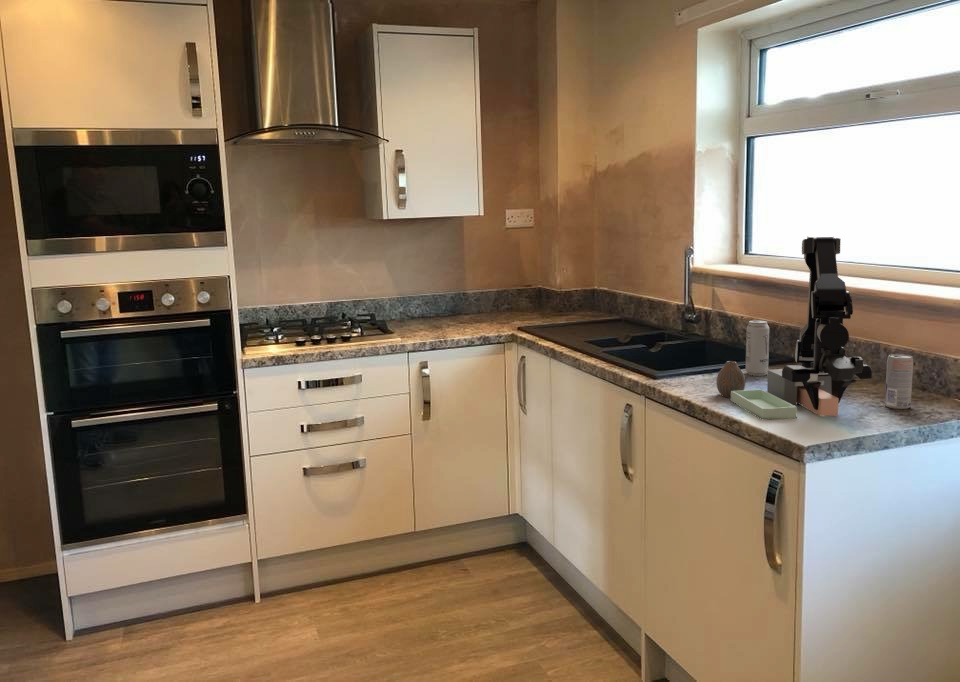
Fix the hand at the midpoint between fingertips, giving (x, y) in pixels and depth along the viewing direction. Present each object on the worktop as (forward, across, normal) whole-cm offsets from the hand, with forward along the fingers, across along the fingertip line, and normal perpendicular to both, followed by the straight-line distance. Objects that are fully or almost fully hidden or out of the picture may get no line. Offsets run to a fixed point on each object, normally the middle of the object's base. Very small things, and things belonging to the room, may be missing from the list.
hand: (825, 408), depth 184 cm
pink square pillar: (+1, 0, +5) cm, 5 cm away
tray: (+1, -12, +6) cm, 14 cm away
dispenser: (+1, 0, +12) cm, 13 cm away
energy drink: (+1, +19, +2) cm, 19 cm away
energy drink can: (+1, +3, +44) cm, 44 cm away
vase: (+1, -14, +20) cm, 25 cm away
